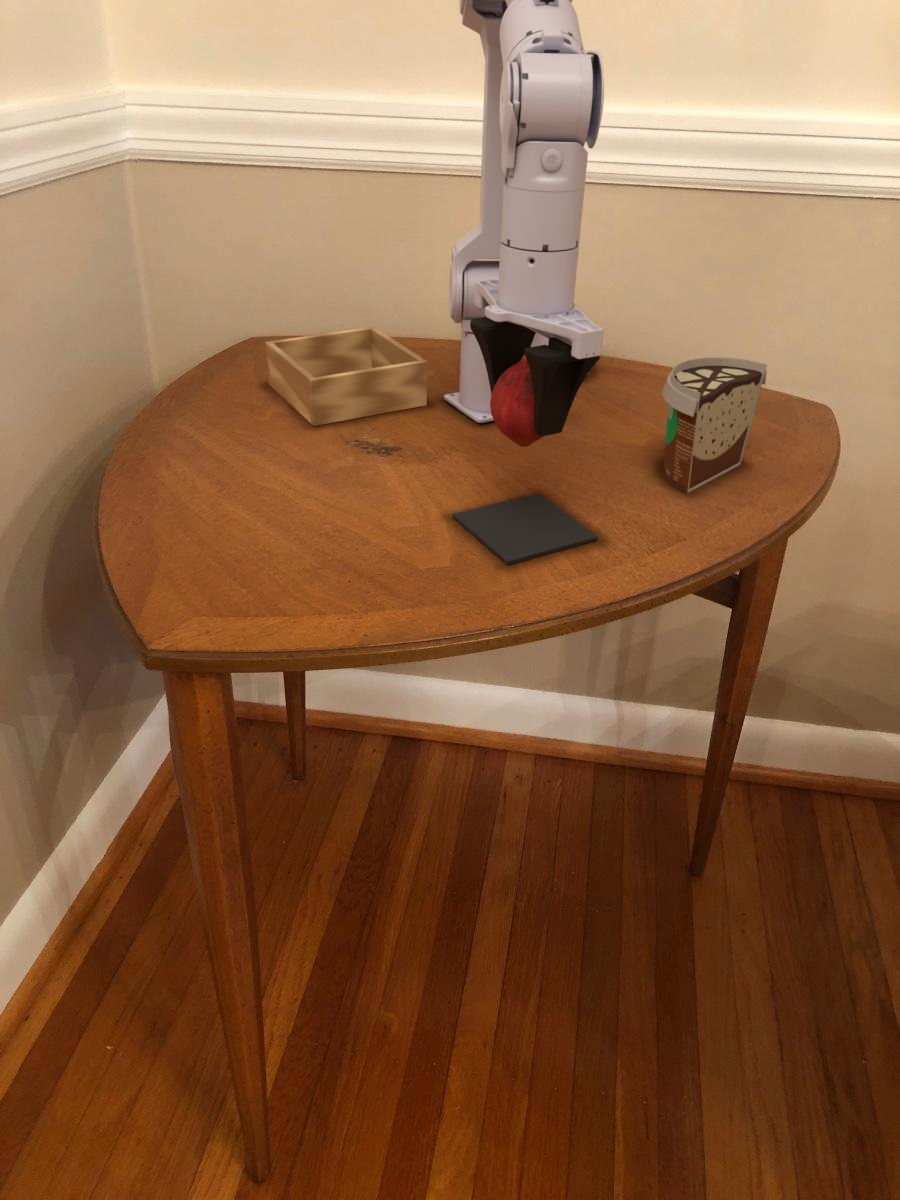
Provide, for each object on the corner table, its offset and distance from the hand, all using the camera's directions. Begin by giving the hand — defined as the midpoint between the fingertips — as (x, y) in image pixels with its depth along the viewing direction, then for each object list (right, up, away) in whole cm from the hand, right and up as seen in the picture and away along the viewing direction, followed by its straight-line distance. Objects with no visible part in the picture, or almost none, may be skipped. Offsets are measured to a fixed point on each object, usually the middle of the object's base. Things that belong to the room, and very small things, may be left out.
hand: (526, 418), depth 76 cm
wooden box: (-18, +8, +30) cm, 36 cm away
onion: (0, -2, +1) cm, 3 cm away
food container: (+17, -2, +16) cm, 23 cm away
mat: (0, -9, +5) cm, 10 cm away
